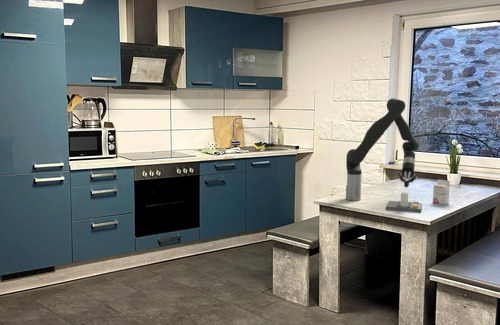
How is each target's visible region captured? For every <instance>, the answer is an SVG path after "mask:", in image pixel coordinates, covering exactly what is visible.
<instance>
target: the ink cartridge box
mask: <svg viewBox="0 0 500 325" xmlns="http://www.w3.org/2000/svg"><path fill="white" fill-rule="evenodd" d="M436 181H437V183H436V184H433V191H432V192H433V193H432V194H433V195H432V203H435V204H441V205H447V204H449V199H450V198H449V197H450V188H451V187H450V180H445V179H437V180H436Z"/></svg>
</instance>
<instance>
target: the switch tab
mask: <svg viewBox="0 0 500 325" xmlns="http://www.w3.org/2000/svg"><path fill="white" fill-rule="evenodd" d="M400 201H401V204H400V206H402V207H407V206H408V202H409V192H406V191H405V192H404V191H401V192H400Z"/></svg>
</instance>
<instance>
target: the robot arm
mask: <svg viewBox="0 0 500 325" xmlns="http://www.w3.org/2000/svg"><path fill="white" fill-rule="evenodd" d="M386 108H387V111H388V112H387V113H386V114H385V115H384V116H382V117H380V118H379V119H377V120H376V121H375V122H373V124H371V126H369V128H368V130H367V131H366V133H365V135H364V137H363V138H362V139H363V140H362V141H361V143H360V144H359V145H358V146H357V147H356V148H352V149H351V148H350V149H349V150H348V151H347V153H346V157H345V158H346V162H345V163H346V165H345V166H346V172H347V174H346V185H345V200H346V201H354V202H355V201H356V202H357V201H361V199H362V197H361V196H362V168H361V164H362V162H363V161H364V160H365V158H366V156H367V154H369V152H370V150H371V149H372V148H373V147H374V145H376V143H378V141H379V140H380V139H381V137H383V135H384V134H385V132H386V131H387V130H388V129H389V128H390V126H391V125H392V124H393V123H395V125H396V127H397V130H398V133H399V135H400V137H401V140H403V141H404V142H403V143H402V146H401V147H402V150H403V160H402V167H401V169H402V170H401V171H400V173H397V178H398V179H399V180H400V181H401V182H402V183H403V186H404V188H408V187H409V186H410V183H413V182H414V181H415V180H417V179H418V174H417V173H416V174H415V167H416V166H415V165H416V164H415V162H416V161H415V160H416V153H415V152H416V151H417V150H419V148H420V145H419V141H417V139H416V138H415V136H414V135H413V134H412V130H411V128H410V126H409V124H408V123H407V120H405V118H404V117H403V115H402V113H403V112H404V111H405V109H406V102H405V101H404V100H402V99H398V98H395V97H393V98H390V99H389V100H387V102H386Z"/></svg>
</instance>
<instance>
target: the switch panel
mask: <svg viewBox="0 0 500 325" xmlns="http://www.w3.org/2000/svg"><path fill="white" fill-rule="evenodd" d="M400 204H401V200H388V202H387V204H386V206H385V210H386V211H399V212H410V213H411V212H413V213H422V208H423V203H422V202H419V200H413V201H408V206H407V207H402V206H400Z"/></svg>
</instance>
